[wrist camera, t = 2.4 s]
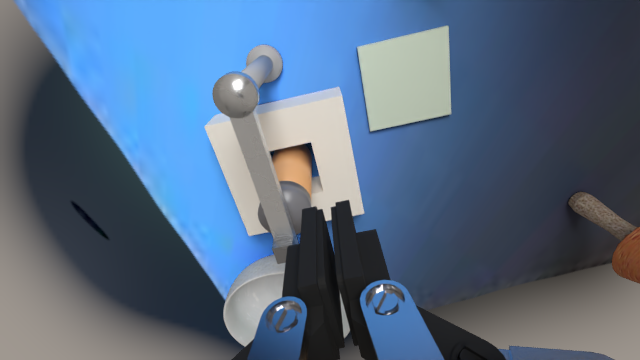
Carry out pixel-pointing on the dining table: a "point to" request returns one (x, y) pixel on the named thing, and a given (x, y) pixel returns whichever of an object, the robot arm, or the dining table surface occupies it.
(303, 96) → the socket block
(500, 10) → the dining table surface
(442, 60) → the pad
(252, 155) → the grey ball-jointed lever
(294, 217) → the plug
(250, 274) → the cereal bowl
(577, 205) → the mushroom
